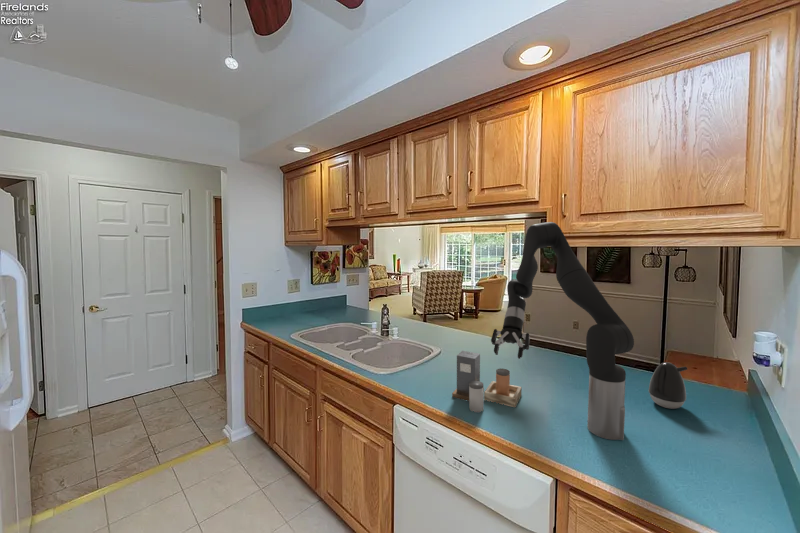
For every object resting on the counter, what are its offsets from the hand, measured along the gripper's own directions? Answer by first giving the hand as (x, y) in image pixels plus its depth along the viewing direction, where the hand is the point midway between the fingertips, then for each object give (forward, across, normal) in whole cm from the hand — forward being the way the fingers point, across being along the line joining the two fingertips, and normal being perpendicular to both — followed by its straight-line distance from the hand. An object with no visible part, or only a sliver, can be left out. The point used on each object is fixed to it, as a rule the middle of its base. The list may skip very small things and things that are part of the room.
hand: (507, 355), depth 127 cm
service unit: (+17, -12, +2) cm, 21 cm away
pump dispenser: (-1, +51, +20) cm, 55 cm away
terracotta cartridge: (+14, 0, +4) cm, 14 cm away
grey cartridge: (+24, -6, -4) cm, 25 cm away
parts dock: (+14, 0, +5) cm, 15 cm away
